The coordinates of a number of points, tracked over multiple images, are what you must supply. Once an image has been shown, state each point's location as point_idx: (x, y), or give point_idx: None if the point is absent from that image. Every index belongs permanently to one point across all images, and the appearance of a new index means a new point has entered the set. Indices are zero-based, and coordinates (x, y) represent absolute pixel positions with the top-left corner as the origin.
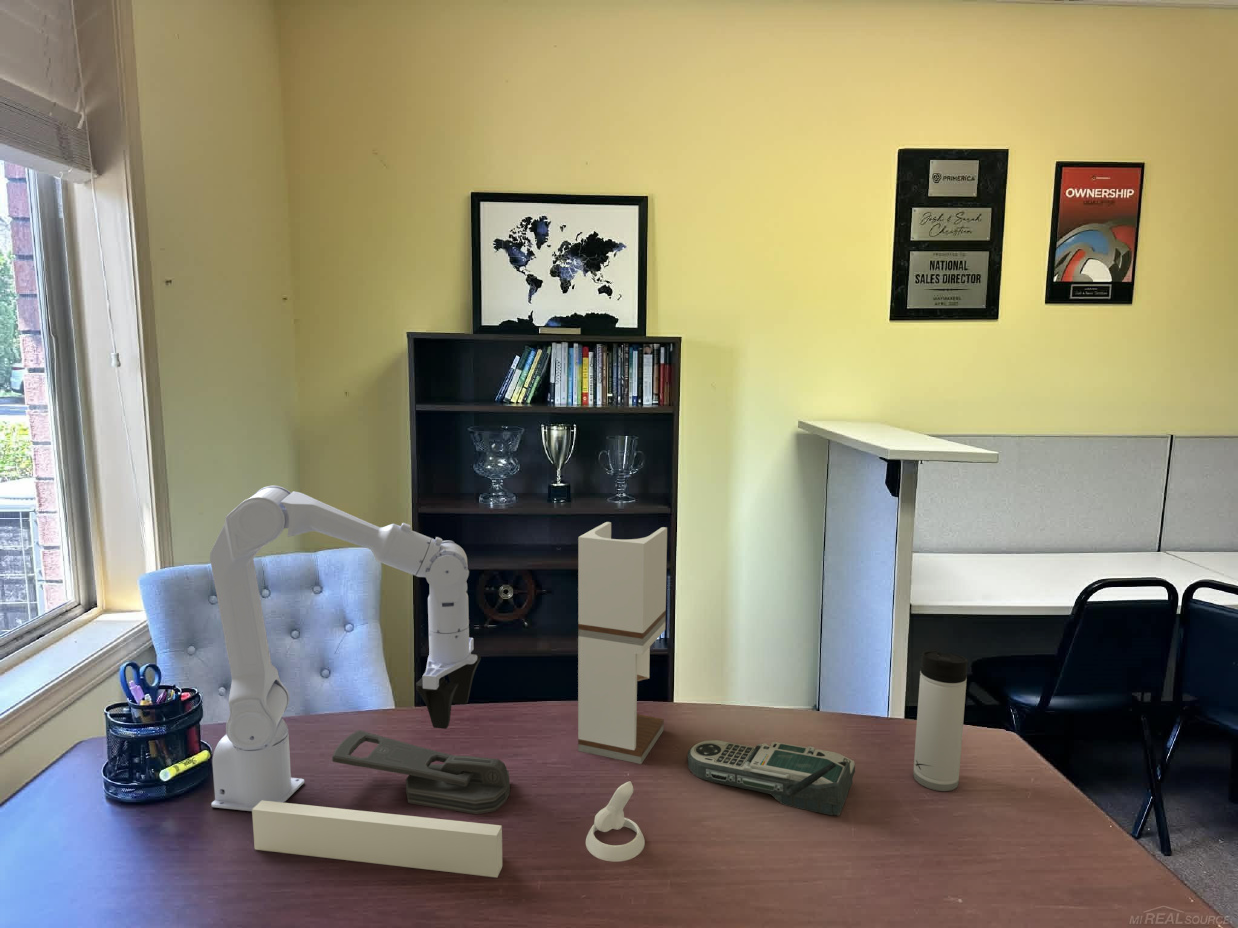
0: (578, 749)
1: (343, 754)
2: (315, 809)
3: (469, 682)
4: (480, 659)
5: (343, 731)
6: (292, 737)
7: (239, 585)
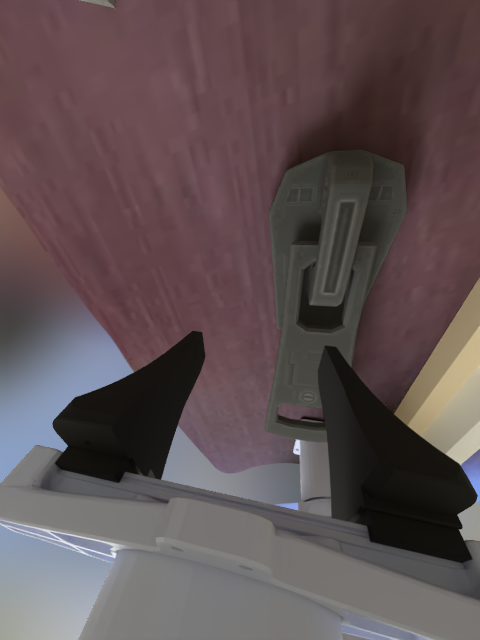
0: (113, 4)
1: None
2: (477, 432)
3: (172, 367)
4: (73, 401)
5: (201, 410)
6: (224, 437)
7: None
